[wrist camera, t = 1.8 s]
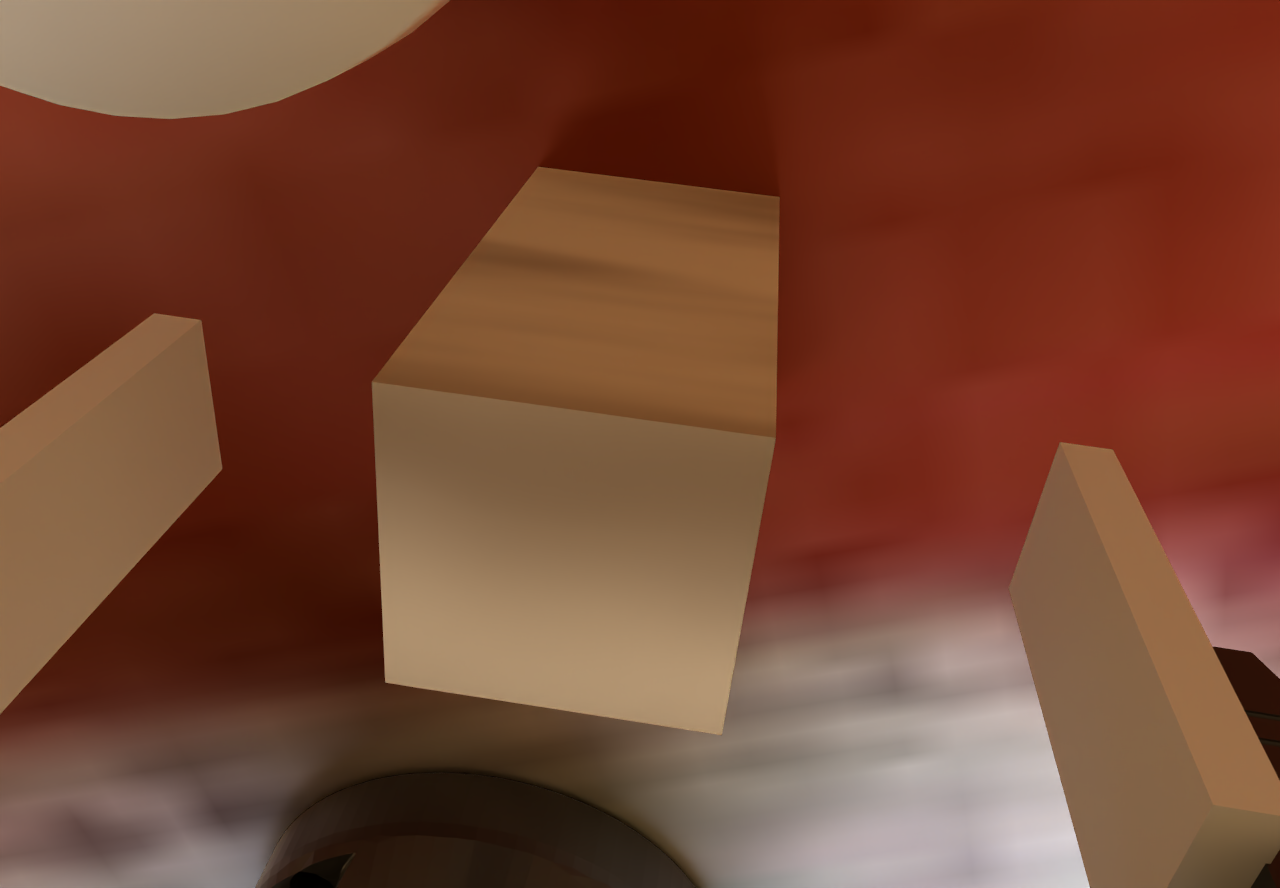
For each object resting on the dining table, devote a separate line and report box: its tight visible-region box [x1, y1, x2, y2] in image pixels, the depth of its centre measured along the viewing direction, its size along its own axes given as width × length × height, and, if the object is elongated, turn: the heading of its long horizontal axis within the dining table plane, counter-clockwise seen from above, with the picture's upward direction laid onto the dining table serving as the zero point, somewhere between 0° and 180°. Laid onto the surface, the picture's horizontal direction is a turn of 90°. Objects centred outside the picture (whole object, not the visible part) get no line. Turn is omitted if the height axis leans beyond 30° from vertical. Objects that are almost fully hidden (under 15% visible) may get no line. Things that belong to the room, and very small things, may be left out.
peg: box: [372, 167, 780, 735], centre depth 18 cm, size 5×5×10 cm
